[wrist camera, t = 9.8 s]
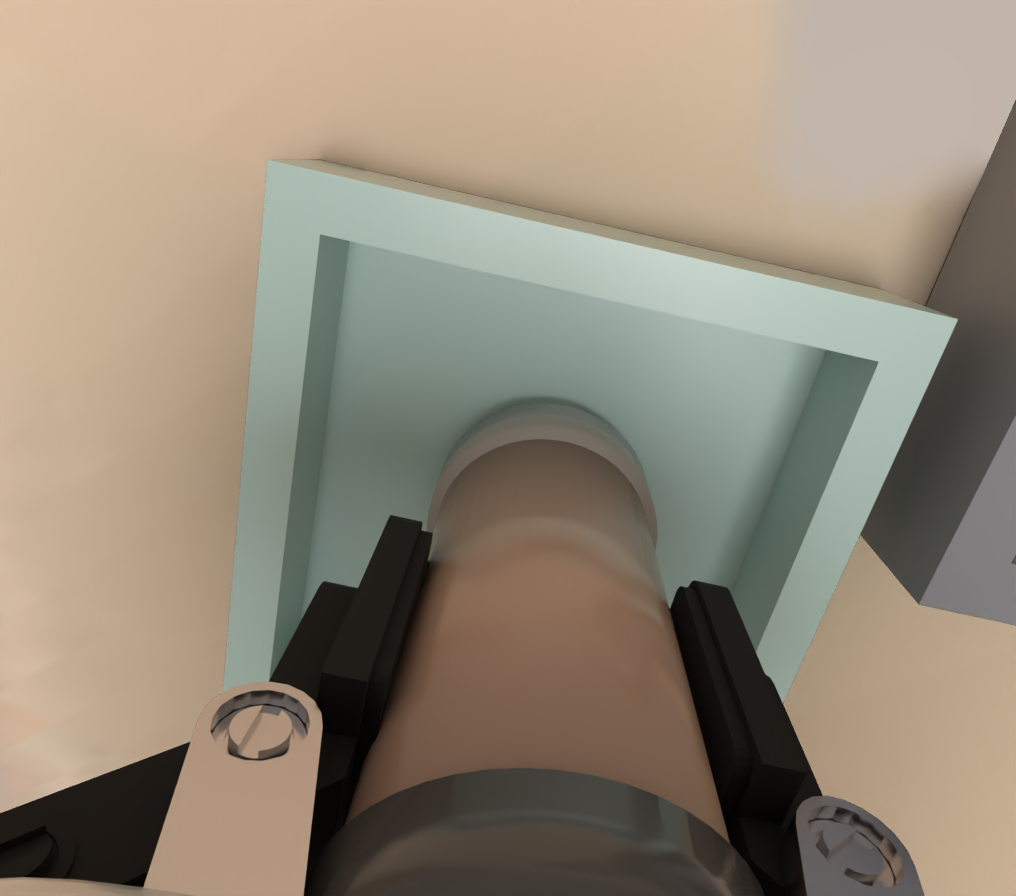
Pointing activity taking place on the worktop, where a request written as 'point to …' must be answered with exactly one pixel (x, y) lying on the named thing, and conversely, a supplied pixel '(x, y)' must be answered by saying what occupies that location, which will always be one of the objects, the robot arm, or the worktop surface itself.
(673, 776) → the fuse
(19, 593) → the worktop surface
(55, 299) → the worktop surface
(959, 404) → the fuse holder
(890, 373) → the parts tray
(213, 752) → the robot arm
